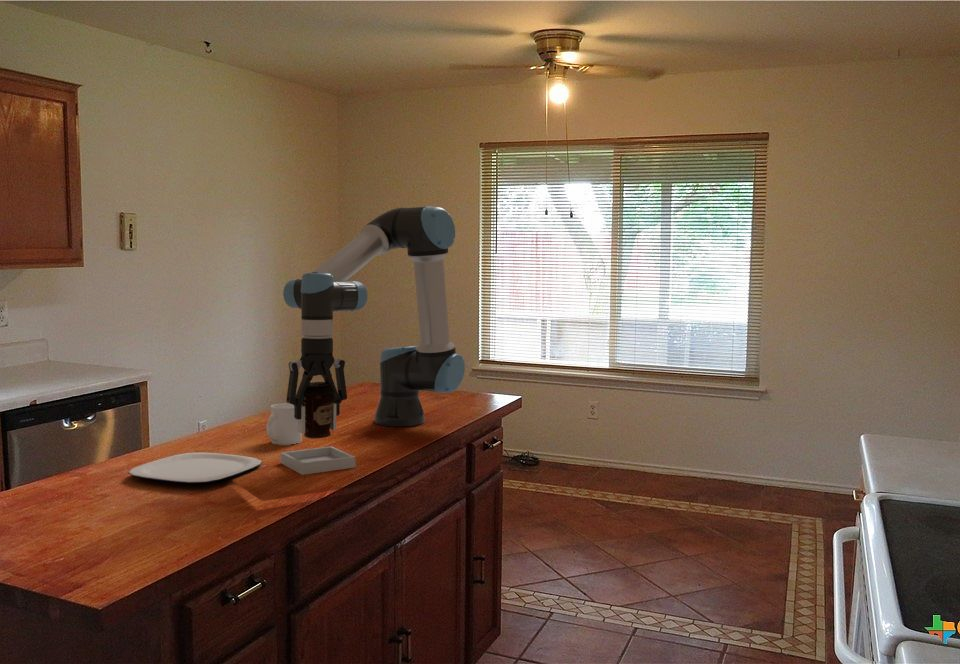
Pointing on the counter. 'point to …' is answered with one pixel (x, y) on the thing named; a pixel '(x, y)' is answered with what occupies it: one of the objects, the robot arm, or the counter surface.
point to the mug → (283, 425)
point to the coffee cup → (318, 410)
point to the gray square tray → (317, 460)
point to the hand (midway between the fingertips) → (317, 430)
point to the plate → (195, 467)
